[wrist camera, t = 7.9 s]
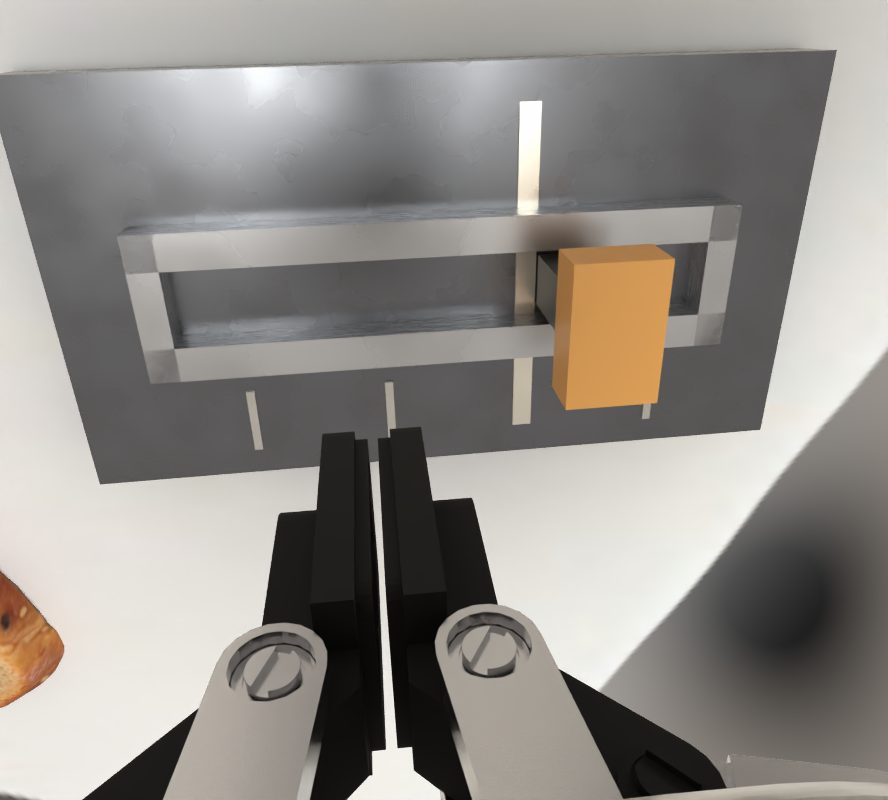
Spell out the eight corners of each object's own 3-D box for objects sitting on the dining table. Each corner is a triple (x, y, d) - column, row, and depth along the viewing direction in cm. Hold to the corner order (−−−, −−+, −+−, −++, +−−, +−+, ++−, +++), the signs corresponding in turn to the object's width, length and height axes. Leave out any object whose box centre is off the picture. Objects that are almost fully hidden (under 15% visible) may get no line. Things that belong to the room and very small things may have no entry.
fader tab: (608, 212, 25) (675, 258, 20) (599, 333, 27) (657, 402, 22) (528, 217, 24) (574, 264, 19) (524, 339, 26) (565, 410, 21)
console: (801, 49, 25) (860, 51, 22) (736, 407, 32) (775, 444, 29) (12, 71, 23) (-36, 77, 20) (115, 456, 29) (90, 502, 26)
